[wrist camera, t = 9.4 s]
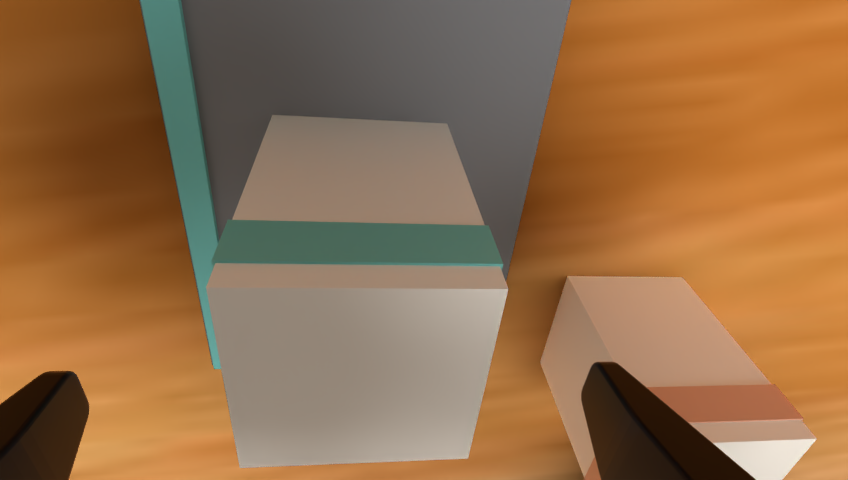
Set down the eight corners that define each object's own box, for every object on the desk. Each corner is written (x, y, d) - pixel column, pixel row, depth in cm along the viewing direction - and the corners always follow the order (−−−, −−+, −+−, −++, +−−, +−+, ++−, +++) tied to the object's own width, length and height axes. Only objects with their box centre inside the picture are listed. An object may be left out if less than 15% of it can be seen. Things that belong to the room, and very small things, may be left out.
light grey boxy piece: (642, 361, 22) (742, 527, 16) (538, 363, 21) (604, 536, 16) (683, 275, 19) (819, 437, 14) (566, 274, 19) (657, 443, 13)
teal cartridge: (431, 260, 16) (470, 460, 11) (282, 259, 16) (237, 469, 10) (449, 121, 14) (512, 286, 8) (270, 112, 13) (201, 285, 7)
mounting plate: (482, 341, 20) (488, 364, 19) (218, 344, 19) (211, 369, 18) (571, -69, 12) (589, -65, 12) (134, -115, 11) (112, -115, 10)
